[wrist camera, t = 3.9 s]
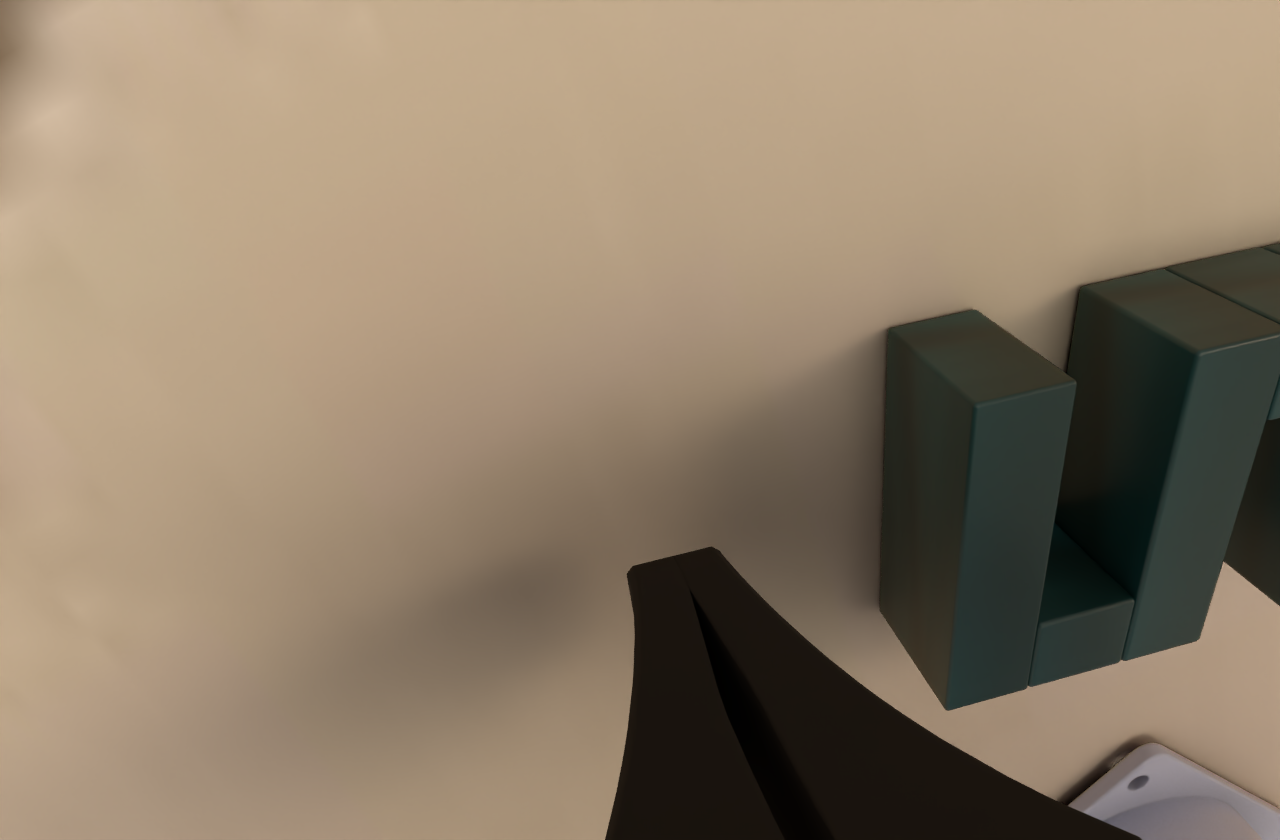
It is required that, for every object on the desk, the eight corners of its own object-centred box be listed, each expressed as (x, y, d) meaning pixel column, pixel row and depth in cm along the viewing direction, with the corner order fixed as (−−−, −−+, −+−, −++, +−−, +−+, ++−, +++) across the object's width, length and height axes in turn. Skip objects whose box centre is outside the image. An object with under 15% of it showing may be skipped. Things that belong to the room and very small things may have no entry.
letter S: (878, 610, 16) (945, 713, 14) (886, 327, 13) (973, 405, 11) (1249, 513, 17) (1364, 596, 15) (1340, 228, 14) (1500, 282, 12)
